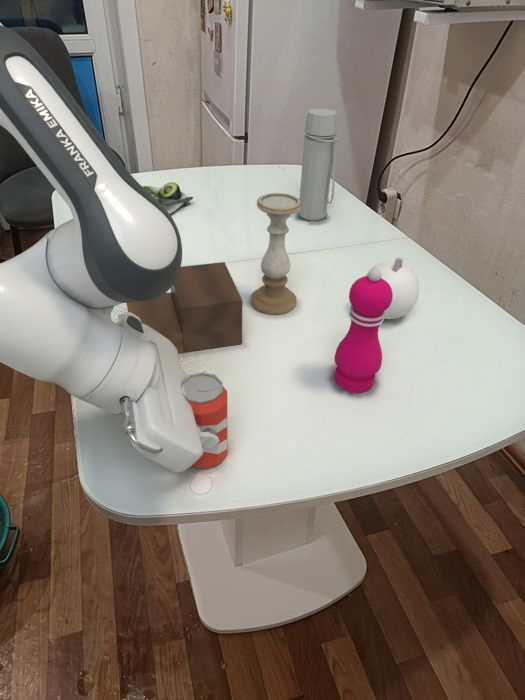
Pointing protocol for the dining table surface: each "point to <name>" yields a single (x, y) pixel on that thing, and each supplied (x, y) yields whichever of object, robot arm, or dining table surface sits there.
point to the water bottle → (318, 163)
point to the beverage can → (208, 413)
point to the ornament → (399, 287)
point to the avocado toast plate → (169, 196)
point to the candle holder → (276, 255)
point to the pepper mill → (363, 334)
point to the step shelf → (196, 309)
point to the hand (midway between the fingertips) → (207, 417)
